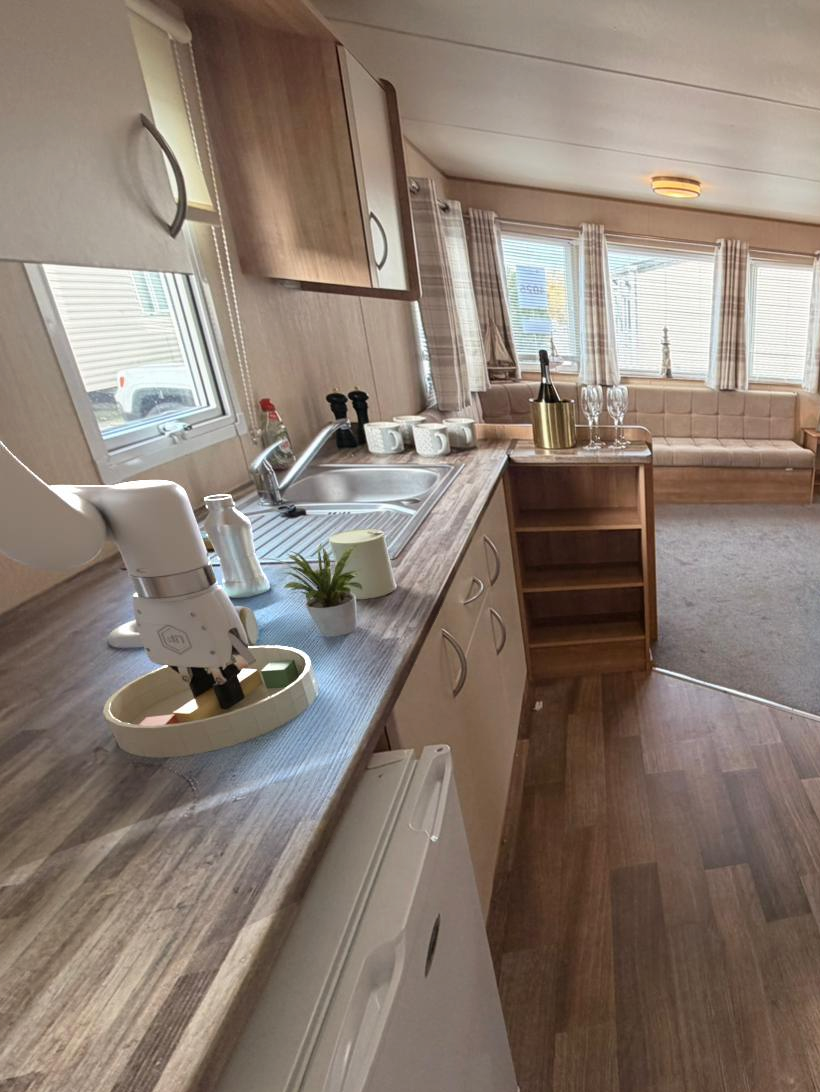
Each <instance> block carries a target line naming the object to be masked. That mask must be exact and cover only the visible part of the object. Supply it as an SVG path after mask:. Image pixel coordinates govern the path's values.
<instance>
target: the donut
mask: <svg viewBox="0 0 820 1092" xmlns="http://www.w3.org/2000/svg"><path fill="white" fill-rule="evenodd" d="M107 643H108V646H110V647H113V648H119V649H129V648H131V649H132V648H140V647H144V645H143V643H142V640H141V637H140V634H139V630H138V627H137V623H136V619H134V620H131V621H128V622H125V623H124V624H121V625H119V626H117V627H116V628H114V629H113V630H112V631H111V632H110V633H109V635H108V637H107Z"/></svg>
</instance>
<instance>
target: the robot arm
mask: <svg viewBox="0 0 820 1092" xmlns="http://www.w3.org/2000/svg"><path fill="white" fill-rule="evenodd" d="M105 542H112V543H114V544H115V545H116V546H117V548H118V551H119V553H120V556H121V558H122V561H123V563H124V566H125V569H126V571H127V575H128V578H129V579H130V580H131V583H132V585H133V588H134V590H135V592H134V593H133V594H132V607H133V612H134V620H136V623H137V627H138V630H139V634H140V637H141V640H142V643H143V645H144V646H143V647H144V648H143V649H144V651H145V653H146V655H147V657H148V659H149V661H150V662H152V663H153V664H156V665H159V666H169V667H171V668H172V669H173V670H175V671H176V672H178V673H179V674H180V676H181V679H182V680H183V681H184V682H186V683H189V682H190V684H189V686H190V688H191V691H192V693H193V696H194V698H196V697H198V696H199V695H201V694H203V693H204V692H206V691H207V690H209V689H211V688H212V687H213V689H214V691H215V694H216V696H217V698H218V701H219V704H220V706H221V708H222V709H229V708H231V707H232V706H234V705H235V704H237V703H238V702H240V701H241V700H243V699H244V693H243V690H242V688H241V685H240V682H239V679H238V676H237V675H239V674H240V673H241V670H242V669H244V668H247V667H249V666H250V665H252V664H253V663H255V662H256V659H255V657H254V656H253V655H252V654H251V653H250V652H249V644H248V640H247V636H246V633H245V630H244V628H243V625H242V623H241V621H240V618H239V616H238V614H237V612H236V610H235V608H234V606H235V605H234V604H233V602H232V601H231V598H230V597H228V595H227V594H226V592H225V590H224V589H223V585H219V582H218V579H217V578H218V577H217V576H216V573H215V570H214V567H213V565H212V561H211V559H210V556H209V553H208V549H207V548H206V545H205V542H204V539H203V537H202V533H201V530H200V527H199V525H198V522H197V519H196V515H195V513H194V510H193V508H192V504H191V501H190V498H189V495H188V494H187V491H186V490H185V488H184V487H182V486H181V485H180V484H178V483H176V482H174V481H169V480H162V479H149V480H148V479H147V480H136V481H135V480H134V481H128V482H121V483H117V484H114V485H79V484H77V485H76V484H75V485H74V484H73V485H72V484H54V485H48V484H47V483H46V482H44V480H42V479H41V478H39V476H38V475H36V474H35V473H34V472H33V471H32V470H30V469H29V468H28V467H27V466H26V465H24V463H22V462H21V461H20V459H18V458H17V457H16V456H15V455H14V454H13V453H12V452H11V451H10V450H9V449H8V448H7V447H6V445H4V443H3V442H2V441H1V440H0V554H1V555H3V556H5V557H7V558H8V559H10V560H12V561H14V562H17V563H19V564H21V565H22V566H23V565H24V566H26V567H30V568H33V569H38V570H43V571H57V572H58V571H66V570H67V571H68V570H73V569H76V568H79V567H82V566H85V565H86V564H88V563H90V562H92V561H93V560H94V559H95V558H96V557H98V555H99V554H100V553H101V551H102V549H103V547H104V545H105V544H104V543H105ZM225 664H226V668H225V669H224V670H223V668H222V666H223V665H225ZM208 668H210V670H211V672H209V673H207V672H208Z"/></svg>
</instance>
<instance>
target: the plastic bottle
mask: <svg viewBox="0 0 820 1092" xmlns="http://www.w3.org/2000/svg"><path fill="white" fill-rule="evenodd" d="M203 499H204V503H205V508H206V509H207V510H209V513H208V514H207V516H206V517H205V520H204V522H203V530H204V532H205V535H206V537H207V539H208V540H209V542H210V544H211V545H212V547H213V550H214V552H215V555H216V557H217V561H218V562H219V567H220V572H221V576H222V587H223V589H224V590H225V592H226V594H227V595H228V597H229V598H230V599H231V598H232V599H240V598H241V599H242V598H248V597H249V598H250V597H254V596H258V595H262V594H264V593H266V592H268V591H269V590H270V588H271V586H270V584H271V583H270V582H269V579H268V577H267V576H266V574H265V572H264V571H263V568H262V566H261V563H260V561H259V558H258V556H257V552H256V548H255V544H254V543H255V542H254V535H253V525H252V522H251V521H250V520H249V518H248V517H247V516H246V515H244V514H243V512H241V511H239V510H237V509H236V508H235V507H236V503H235V501H234V499H233V496H232V495H231V494H215V495H209V496H206V497H204V498H203Z"/></svg>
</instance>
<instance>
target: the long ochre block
mask: <svg viewBox="0 0 820 1092" xmlns="http://www.w3.org/2000/svg"><path fill="white" fill-rule="evenodd" d="M237 676H238V679H239V682H240V685H241V688H242V690H243V693H244V696H245V695H247V694H248V693H250V692H251V691H253V690H254V689H256V688H257V687H259V686H260V685H262V684H263V682H262V679H261V677H260V674H259V671H258V670H254V669H242V670H241V673H240V674H239V675H237ZM223 710H225V709H222V708H221V706H220V704H219V701H218V698H217V696H216V694H215V691H214V689H213V687H212V688H211V689H209V690H207V691H206V692H204V693H203V694H201V695H199V696H198V697H196V698H195V699H193V700H191V701H190V702H188V703H187V704H185V705H183V706H182V707H180V708H179V709H177V710H176V711H174V712H172V714H175V715H176V717H177V720H178V722H179V723H184V722H190V721H196V720H201V719H206V718H210V717H214V716H216V715H218V714H219V713H220V712H222V711H223Z"/></svg>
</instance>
